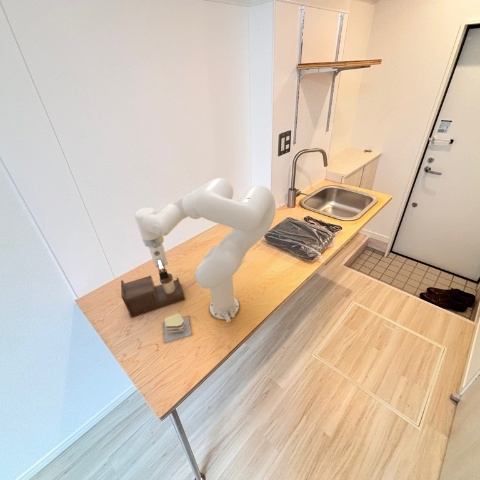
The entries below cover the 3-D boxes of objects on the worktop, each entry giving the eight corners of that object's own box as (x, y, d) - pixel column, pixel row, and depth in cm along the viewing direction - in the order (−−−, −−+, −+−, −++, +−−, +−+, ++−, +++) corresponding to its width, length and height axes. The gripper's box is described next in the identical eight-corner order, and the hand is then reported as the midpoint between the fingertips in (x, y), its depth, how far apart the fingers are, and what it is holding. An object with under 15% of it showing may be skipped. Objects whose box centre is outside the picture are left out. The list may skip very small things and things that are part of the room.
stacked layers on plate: (165, 342, 94) (161, 333, 91) (164, 323, 101) (160, 314, 98) (191, 334, 96) (188, 326, 93) (188, 316, 103) (185, 308, 100)
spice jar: (176, 291, 110) (173, 279, 105) (164, 295, 108) (160, 283, 104) (174, 283, 114) (171, 271, 110) (162, 287, 112) (158, 275, 108)
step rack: (184, 299, 111) (178, 278, 103) (131, 317, 105) (121, 296, 97) (180, 284, 119) (174, 264, 111) (130, 300, 112) (120, 280, 105)
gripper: (166, 248, 89) (175, 281, 99) (159, 225, 102) (168, 256, 112) (145, 254, 87) (156, 287, 97) (141, 229, 100) (151, 261, 110)
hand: (163, 271), depth 105 cm, fingers open, 9 cm apart
